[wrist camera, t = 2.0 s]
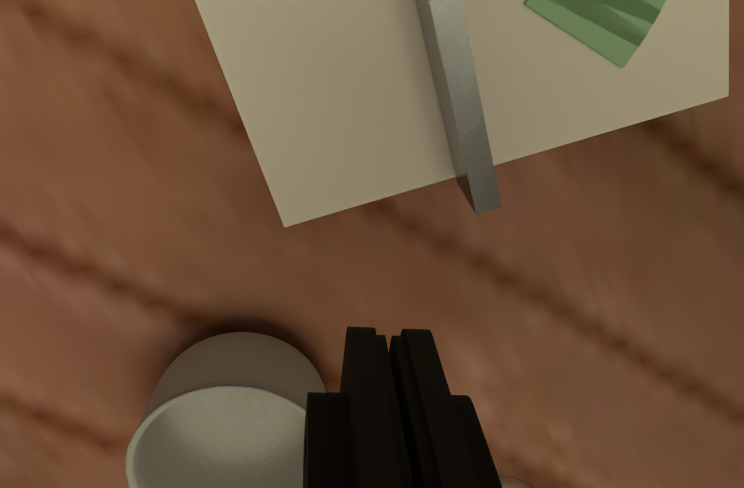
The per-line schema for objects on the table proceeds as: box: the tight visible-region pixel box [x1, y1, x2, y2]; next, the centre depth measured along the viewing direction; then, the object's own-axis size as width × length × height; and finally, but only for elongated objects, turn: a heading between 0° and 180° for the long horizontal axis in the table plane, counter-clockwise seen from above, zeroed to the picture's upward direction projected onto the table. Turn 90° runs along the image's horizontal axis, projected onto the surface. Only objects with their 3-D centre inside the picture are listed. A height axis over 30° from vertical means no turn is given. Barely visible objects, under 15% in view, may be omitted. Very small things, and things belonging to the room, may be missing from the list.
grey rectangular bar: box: [415, 0, 502, 214], centre depth 25 cm, size 15×3×4 cm, turn 16°
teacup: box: [125, 332, 326, 488], centre depth 35 cm, size 14×11×8 cm
